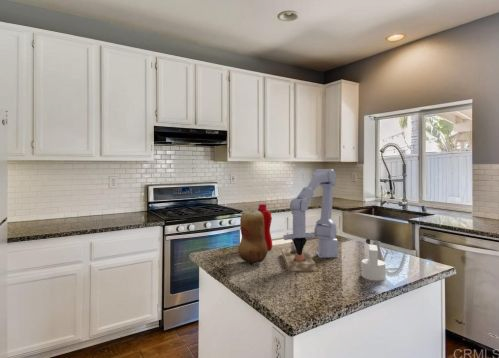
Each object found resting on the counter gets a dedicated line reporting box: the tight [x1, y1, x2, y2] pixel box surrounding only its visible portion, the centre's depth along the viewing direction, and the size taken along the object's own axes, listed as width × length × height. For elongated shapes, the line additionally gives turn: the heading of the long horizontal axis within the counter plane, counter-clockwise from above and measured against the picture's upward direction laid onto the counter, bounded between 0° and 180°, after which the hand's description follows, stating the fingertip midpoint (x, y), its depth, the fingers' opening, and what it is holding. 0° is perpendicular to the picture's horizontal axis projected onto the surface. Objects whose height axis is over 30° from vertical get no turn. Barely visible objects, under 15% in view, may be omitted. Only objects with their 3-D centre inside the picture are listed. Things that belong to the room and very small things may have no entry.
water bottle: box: [256, 203, 273, 251], centre depth 168 cm, size 9×11×25 cm
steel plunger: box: [290, 241, 297, 253], centre depth 150 cm, size 4×4×4 cm
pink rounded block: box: [295, 253, 304, 261], centre depth 138 cm, size 4×4×4 cm
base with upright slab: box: [361, 244, 386, 282], centre depth 124 cm, size 9×9×12 cm
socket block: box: [281, 248, 316, 272], centre depth 144 cm, size 12×24×3 cm, turn 0°
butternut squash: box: [238, 209, 269, 265], centre depth 143 cm, size 14×13×25 cm
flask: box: [372, 240, 386, 263], centre depth 142 cm, size 7×7×10 cm
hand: (299, 254), depth 138 cm, fingers closed, pressing on pink rounded block
